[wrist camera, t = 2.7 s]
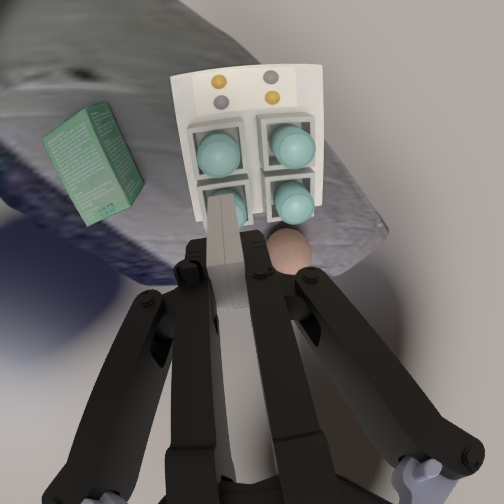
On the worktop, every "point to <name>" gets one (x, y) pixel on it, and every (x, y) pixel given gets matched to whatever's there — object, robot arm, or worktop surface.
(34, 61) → the worktop surface
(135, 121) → the worktop surface
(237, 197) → the button
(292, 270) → the egg
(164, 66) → the worktop surface
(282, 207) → the button
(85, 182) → the box
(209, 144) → the button
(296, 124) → the board
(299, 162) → the button
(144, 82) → the worktop surface
